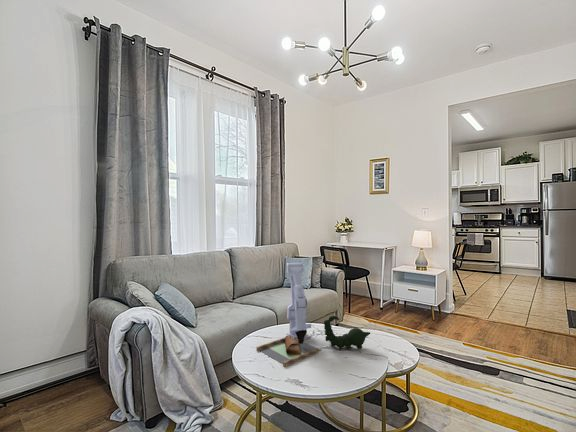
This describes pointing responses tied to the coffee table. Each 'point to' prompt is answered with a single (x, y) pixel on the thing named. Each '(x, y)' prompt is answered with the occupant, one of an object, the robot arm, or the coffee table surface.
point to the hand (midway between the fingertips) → (300, 343)
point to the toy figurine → (344, 336)
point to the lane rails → (292, 358)
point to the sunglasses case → (292, 346)
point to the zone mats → (280, 351)
